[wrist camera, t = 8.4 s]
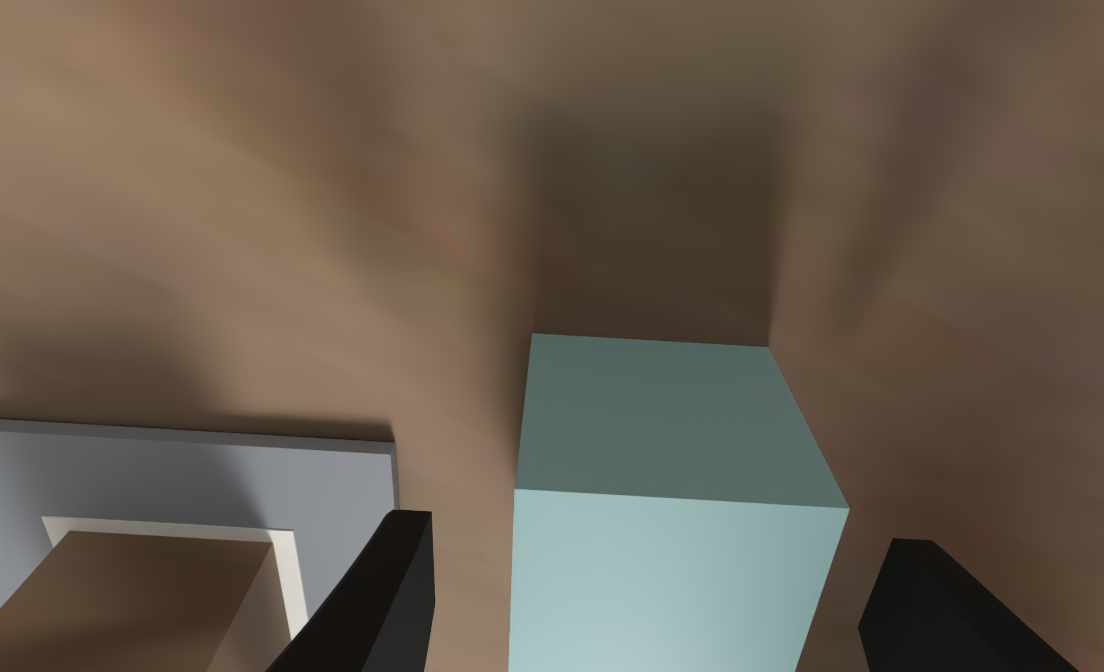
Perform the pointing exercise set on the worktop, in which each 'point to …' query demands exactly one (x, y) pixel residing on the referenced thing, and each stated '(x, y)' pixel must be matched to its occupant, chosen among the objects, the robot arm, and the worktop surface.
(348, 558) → the grey square plate
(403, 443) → the worktop surface
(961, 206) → the worktop surface
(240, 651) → the walnut block
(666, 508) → the teal block
